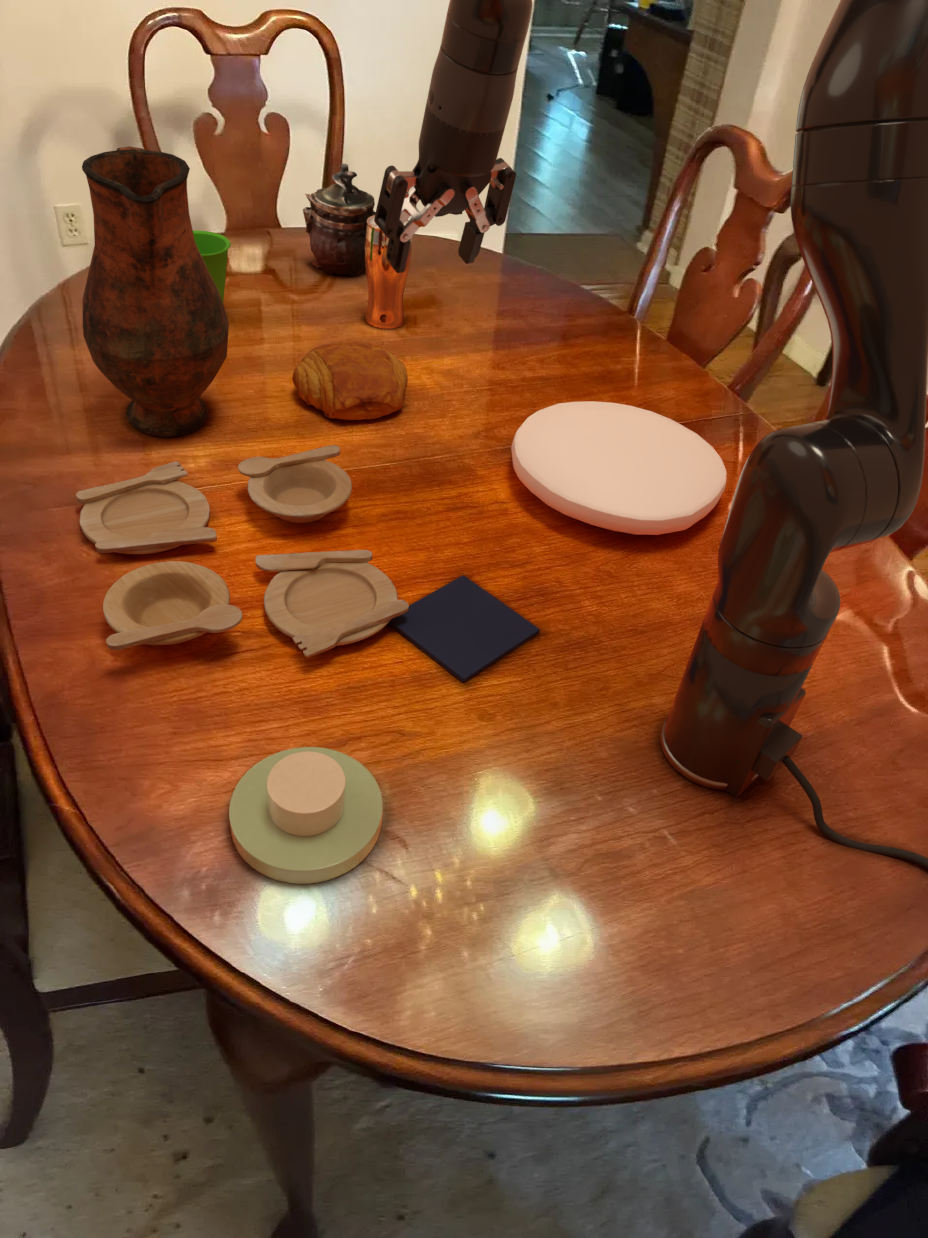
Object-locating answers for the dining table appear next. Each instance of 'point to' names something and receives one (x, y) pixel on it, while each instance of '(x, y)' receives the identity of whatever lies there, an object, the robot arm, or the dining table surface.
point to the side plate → (305, 854)
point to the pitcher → (151, 292)
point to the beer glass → (383, 280)
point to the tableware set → (296, 597)
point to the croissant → (351, 380)
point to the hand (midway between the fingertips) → (431, 263)
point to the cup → (214, 256)
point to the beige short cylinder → (306, 793)
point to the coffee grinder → (339, 224)
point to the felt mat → (463, 628)
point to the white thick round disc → (618, 467)
